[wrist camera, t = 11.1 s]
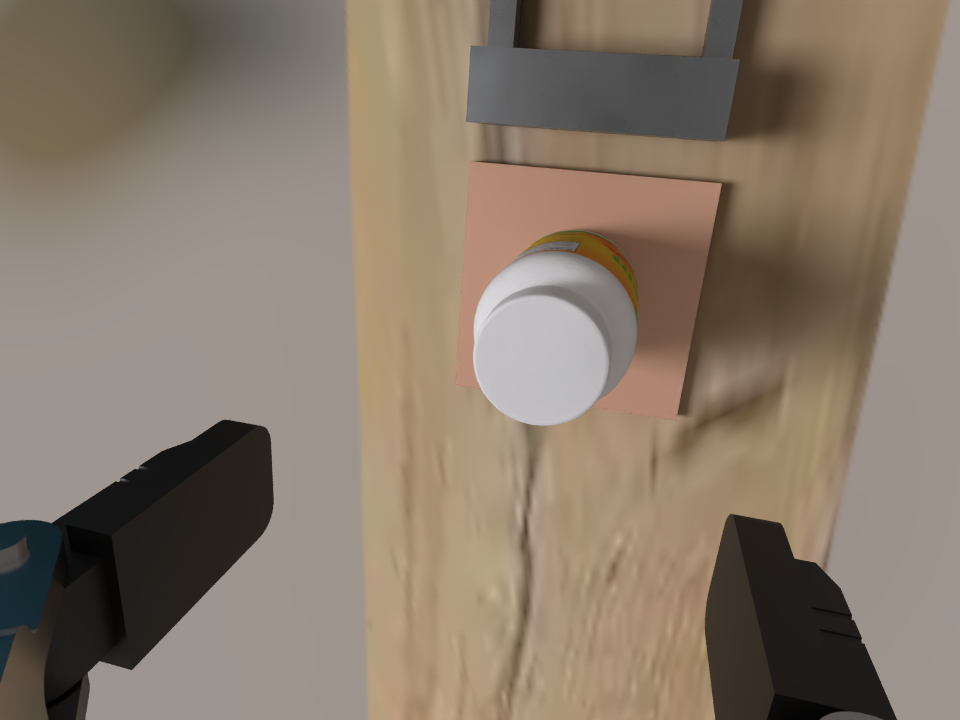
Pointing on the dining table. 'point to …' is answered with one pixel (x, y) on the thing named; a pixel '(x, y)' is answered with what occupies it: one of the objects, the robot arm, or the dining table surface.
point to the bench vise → (605, 83)
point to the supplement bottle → (556, 328)
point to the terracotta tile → (624, 221)
